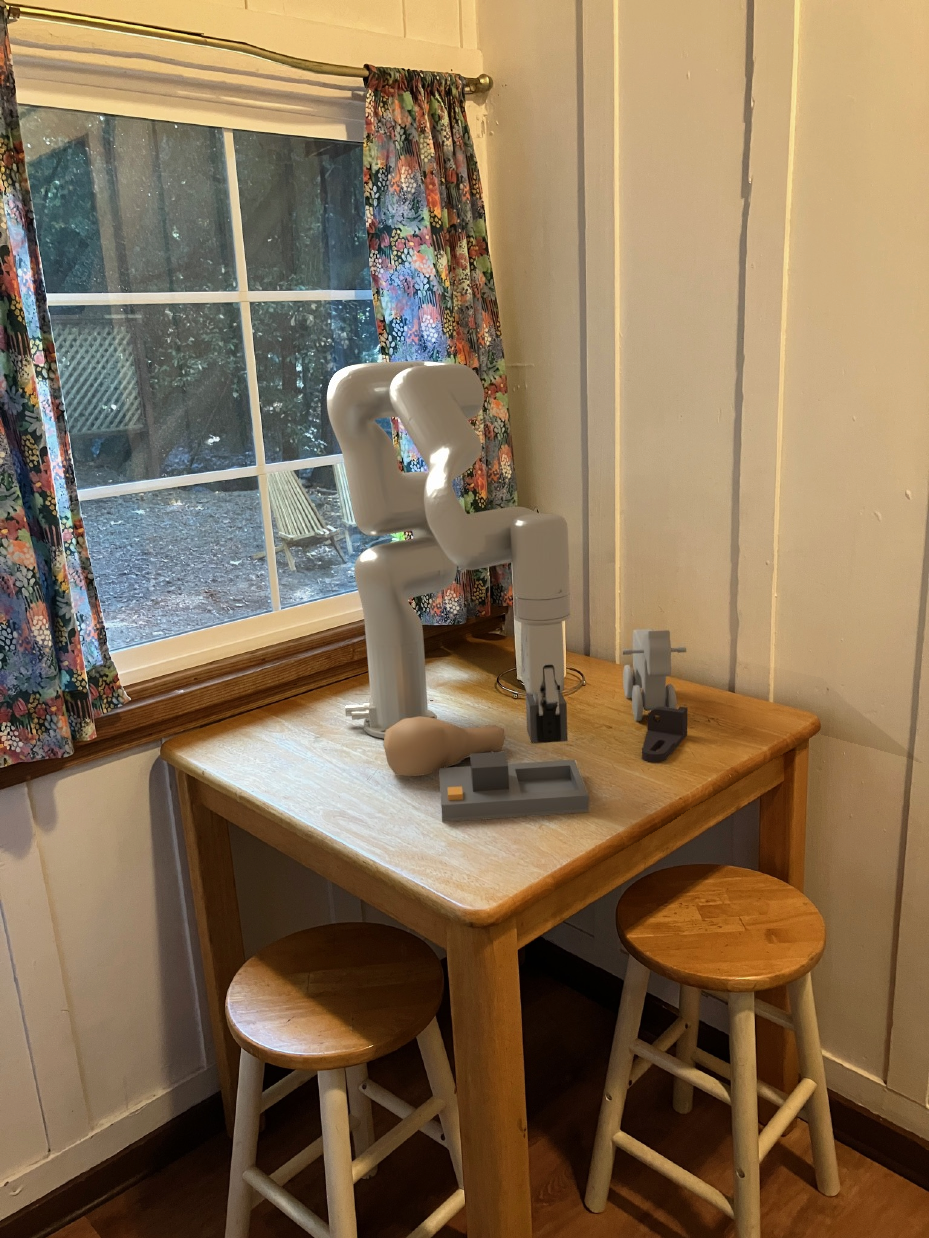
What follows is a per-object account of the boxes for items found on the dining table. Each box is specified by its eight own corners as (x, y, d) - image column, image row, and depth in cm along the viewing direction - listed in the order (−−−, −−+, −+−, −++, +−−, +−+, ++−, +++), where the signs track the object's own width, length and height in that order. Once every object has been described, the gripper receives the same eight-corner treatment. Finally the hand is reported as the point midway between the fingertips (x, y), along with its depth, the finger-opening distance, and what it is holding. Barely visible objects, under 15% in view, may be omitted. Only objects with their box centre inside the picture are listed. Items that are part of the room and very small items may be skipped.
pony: (692, 731, 156) (693, 632, 152) (628, 733, 157) (628, 634, 152) (669, 689, 176) (670, 600, 171) (612, 691, 176) (611, 603, 172)
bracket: (625, 759, 148) (625, 729, 146) (652, 731, 158) (652, 702, 157) (662, 766, 145) (662, 735, 143) (687, 736, 155) (687, 707, 154)
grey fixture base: (442, 821, 130) (439, 781, 129) (439, 783, 142) (437, 746, 140) (589, 812, 131) (588, 771, 129) (574, 774, 142) (574, 737, 141)
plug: (531, 743, 131) (529, 702, 130) (526, 730, 136) (525, 690, 135) (567, 741, 132) (566, 699, 130) (562, 727, 136) (560, 687, 135)
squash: (370, 773, 148) (368, 714, 147) (480, 756, 158) (479, 702, 157) (403, 785, 138) (401, 723, 138) (518, 767, 149) (516, 709, 148)
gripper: (507, 594, 137) (513, 714, 142) (520, 625, 121) (526, 759, 125) (560, 590, 137) (563, 710, 142) (580, 621, 121) (583, 755, 126)
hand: (546, 732), depth 134 cm, fingers closed on plug, 5 cm apart
